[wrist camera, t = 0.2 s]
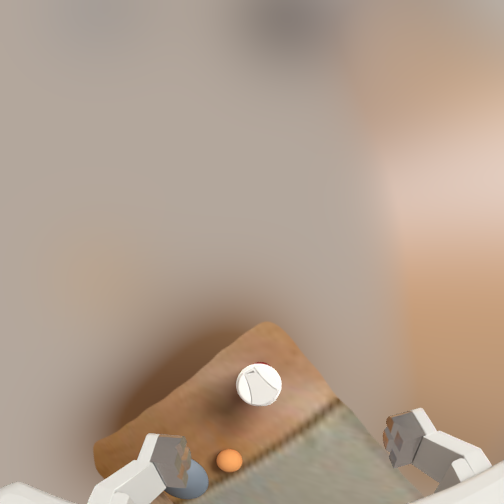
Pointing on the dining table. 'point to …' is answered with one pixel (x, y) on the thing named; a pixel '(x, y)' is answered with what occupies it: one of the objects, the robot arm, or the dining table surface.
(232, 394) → the dining table surface
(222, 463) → the ball
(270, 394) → the paper cup
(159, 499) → the block
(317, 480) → the dining table surface
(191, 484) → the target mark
